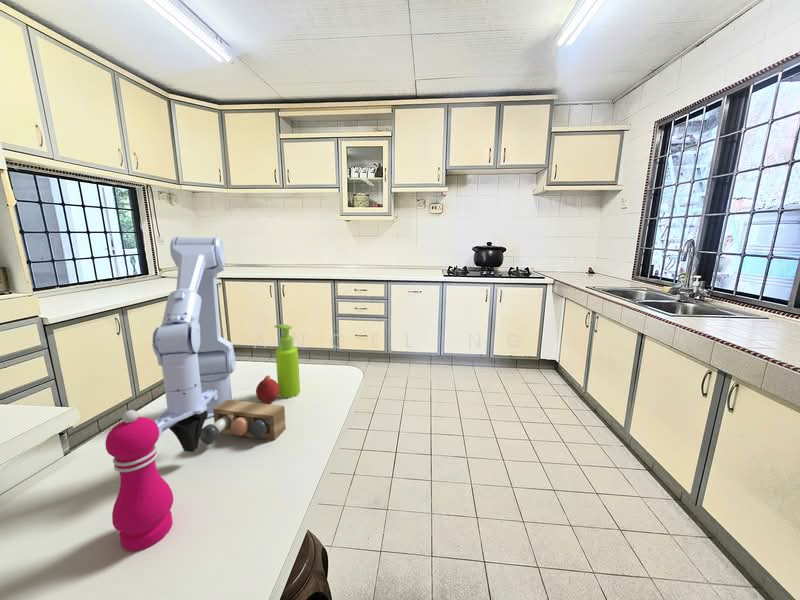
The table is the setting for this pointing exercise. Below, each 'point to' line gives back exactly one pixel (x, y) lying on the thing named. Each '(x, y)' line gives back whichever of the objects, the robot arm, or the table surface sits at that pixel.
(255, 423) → the knob
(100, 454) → the table surface
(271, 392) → the onion
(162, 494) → the pepper mill
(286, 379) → the soap dispenser
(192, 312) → the robot arm
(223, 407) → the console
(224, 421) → the knob
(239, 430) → the knob middle
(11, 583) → the table surface
